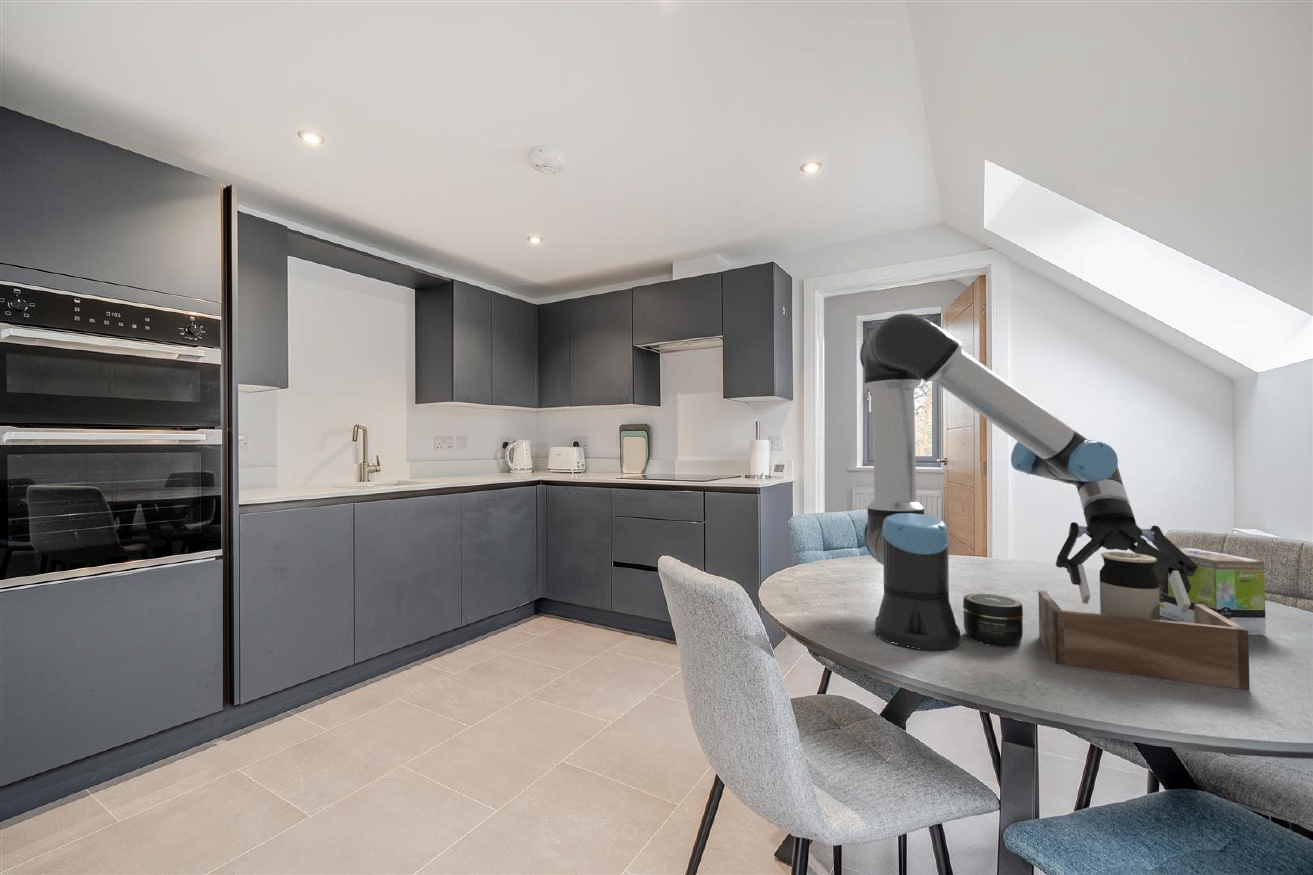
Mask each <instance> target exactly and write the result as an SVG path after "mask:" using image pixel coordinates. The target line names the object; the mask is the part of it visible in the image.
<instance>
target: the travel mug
mask: <svg viewBox="0 0 1313 875" xmlns="http://www.w3.org/2000/svg"><path fill="white" fill-rule="evenodd" d="M1100 556H1101V557H1102V559H1103V566H1102V567H1101V568H1100V570H1099V603H1100V605H1099V609H1100V612H1099V614H1104V615H1114V616H1125V617H1135V618H1145V619H1156V620H1161V616H1160V603H1159V577H1158V576H1157V574H1156V573H1155V571H1154V570H1153V568H1154V563H1155V562H1156V561H1157V559H1156V558H1154V557H1152V556H1148V555H1142V554H1136V553H1134V552H1125V551H1123V552H1122V551H1121V552H1120V551H1105V552H1101V554H1100Z"/></svg>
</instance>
